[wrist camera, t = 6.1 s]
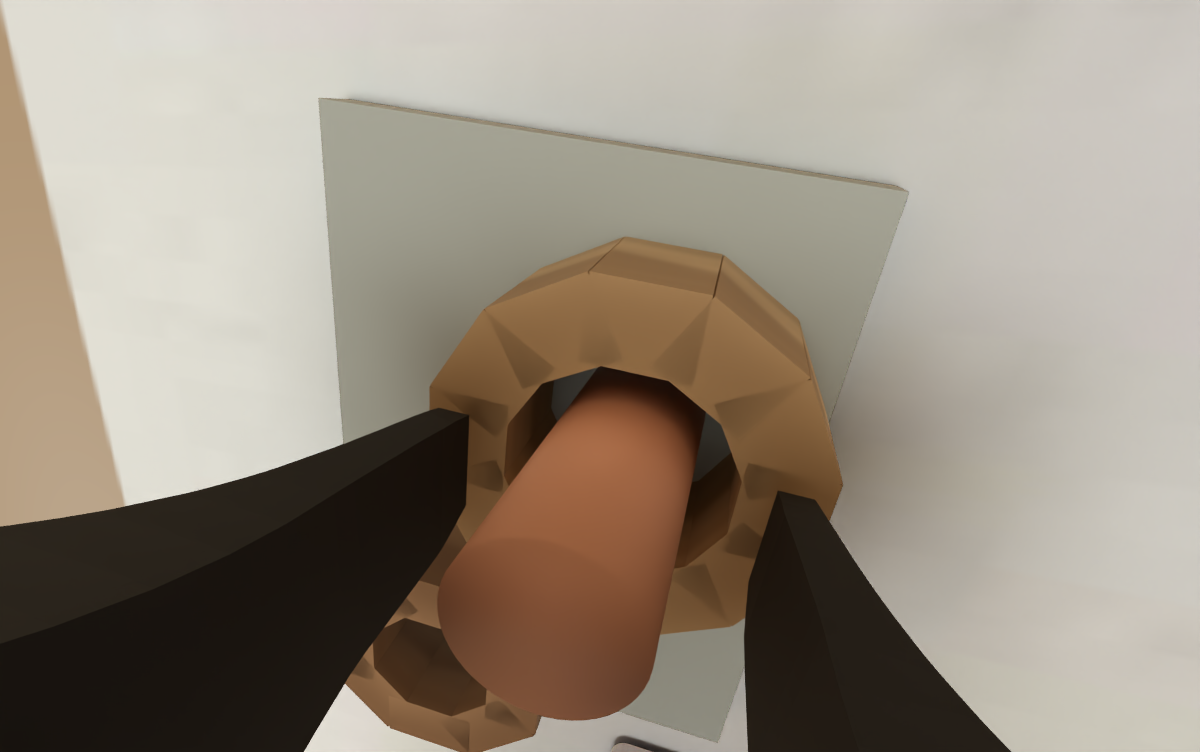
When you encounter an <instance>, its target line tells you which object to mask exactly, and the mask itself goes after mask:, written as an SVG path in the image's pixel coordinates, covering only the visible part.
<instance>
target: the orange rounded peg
mask: <svg viewBox="0 0 1200 752" xmlns="http://www.w3.org/2000/svg"><path fill="white" fill-rule="evenodd" d="M705 415H706V412H705V411H704V410H703V409H702V408H701V407H699V406H698V405H697V404H696V403H695V402H693V401H692V400H691V399H690V398H689V397H687V396H686V395H685V394H684V393H683V392H681V391H680V390H679V389H678V388H677V387H675V386H674V385H673V384H672V383H671V382H669V381H667V380H662V379H657V378H653V377H648V376H644V375H639V374H635V373H630V372H626V371H621V370H617V369H612V368H608V367H603V366H600V367H598V368H597V369H596V371H595V372H594V373H593V375H592V376H591V377H590V379H589V380H588V381H587V383H586V384H585V385H584V387H583V388H582V389H581V391H580V392H579V393H578V395H577V396H576V397H575V399H574V400H573V401H572V403H571V404H570V405H569V407H568V408H567V409H566V411H565V412H564V413H563V415H562V416H561V417H560V419H559V420H558V421H557V423H556V424H555V425H554V427H553V428H552V430H551V431H550V432H549V434H548V435H547V436H546V438H545V439H544V440H543V442H542V443H541V444H540V446H539V447H538V448H537V450H536V451H535V452H534V454H533V455H532V456H531V458H530V459H529V460H528V462H527V463H526V464H525V466H524V467H523V468H522V470H521V471H520V472H519V474H518V475H517V476H516V478H515V479H514V480H513V482H512V483H511V484H510V486H509V487H508V488H507V490H506V491H505V492H504V494H503V495H502V496H501V498H500V499H499V500H498V502H497V503H496V504H495V506H494V507H493V508H492V510H491V511H490V512H489V514H488V515H487V516H486V518H485V519H484V520H483V522H482V523H481V524H480V526H479V527H478V529H477V530H476V531H475V533H474V534H473V535H472V537H471V538H470V539H469V541H468V542H467V543H466V545H465V546H464V547H463V549H462V550H461V551H460V553H459V554H458V555H457V557H456V558H455V559H454V561H453V562H452V563H451V565H450V566H449V567H448V569H447V570H446V572H445V574H444V576H443V578H442V580H441V583H440V587H439V590H438V598H437V609H438V617H439V622H440V626H441V629H442V632H443V635H444V637H445V639H446V641H447V643H448V646H449V647H450V649H451V651H452V652H453V654H454V655H455V657H456V658H457V660H458V661H459V662H460V664H461V665H462V666H463V667H464V669H465V670H466V671H467V672H468V673H469V674H470V675H471V676H472V677H473V678H474V679H475V680H476V681H478V682H479V683H480V684H481V685H482V686H483V687H485V688H486V689H487V690H489V691H490V692H491V693H493V694H494V695H496V696H497V697H499V698H501V699H502V700H504V701H506V702H508V703H510V704H512V705H514V706H516V707H518V708H520V709H523V710H525V711H528V712H530V713H533V714H537V715H540V716H544V717H548V718H554V719H560V720H590V719H597V718H601V717H605V716H608V715H611V714H613V713H615V712H618V711H620V710H622V709H623V708H625V707H626V706H628V705H630V704H631V703H632V702H633V701H634V700H635V699H636V698H638V696H639V695H640V694H641V693H642V691H643V690H644V689H645V687H646V685H647V683H648V682H649V680H650V677H651V674H652V671H653V667H654V662H655V657H656V652H657V648H658V643H659V638H660V633H661V628H662V624H663V619H664V614H665V609H666V604H667V599H668V595H669V590H670V585H671V580H672V575H673V571H674V566H675V561H676V556H677V551H678V546H679V542H680V537H681V532H682V527H683V522H684V518H685V513H686V508H687V503H688V498H689V493H690V489H691V484H692V479H693V474H694V469H695V465H696V460H697V455H698V450H699V445H700V440H701V436H702V431H703V426H704V421H705Z"/></svg>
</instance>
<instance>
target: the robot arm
mask: <svg viewBox="0 0 1200 752" xmlns="http://www.w3.org/2000/svg"><path fill="white" fill-rule="evenodd" d="M468 440H469V415H467V414H463V413H459V412H455V411H451V410H447V409H443V408H436V409H432V410H429V411H426V412H423V413H421V414H418V415H415V416H413V417H410V418H408V419H405V420H403V421H400V422H398V423H395V424H393V425H390V426H388V427H385V428H383V429H380V430H378V431H375V432H373V433H370V434H368V435H365V436H363V437H360V438H357V439H355V440H352V441H350V442H347V443H345V444H342V445H340V446H337V447H335V448H332V449H329V450H326V451H323V452H320V453H318V454H315V455H312V456H309V457H306V458H303V459H301V460H298V461H295V462H292V463H289V464H287V465H284V466H281V467H278V468H275V469H272V470H269V471H266V472H263V473H259V474H256V475H253V476H249V477H246V478H243V479H239V480H235V481H232V482H228V483H224V484H221V485H217V486H213V487H210V488H206V489H202V490H198V491H194V492H190V493H186V494H181V495H176V496H172V497H167V498H162V499H158V500H153V501H148V502H144V503H139V504H134V505H130V506H125V507H121V508H116V509H111V510H105V511H100V512H94V513H88V514H82V515H76V516H70V517H65V518H58V519H51V520H44V521H38V522H30V523H23V524H17V525H10V526H3V527H0V752H304V751H305V749H306V747H307V745H308V744H309V742H310V740H311V738H312V737H313V735H314V733H315V732H316V730H317V728H318V727H319V725H320V723H321V722H322V720H323V718H324V717H325V715H326V714H327V712H328V710H329V709H330V707H331V705H332V704H333V702H334V700H335V699H336V697H337V695H338V694H339V692H340V690H341V689H342V687H343V685H344V684H345V682H346V681H347V679H348V677H349V676H350V674H351V673H352V671H353V670H354V669H355V667H356V666H357V664H358V663H359V661H360V660H361V658H362V657H363V655H364V654H365V653H366V651H367V650H368V648H369V647H370V646H371V644H372V643H373V642H374V640H375V639H376V638H377V636H378V635H379V634H380V632H381V631H382V630H383V628H384V627H385V626H386V624H387V623H388V622H389V620H390V619H391V618H392V616H393V615H394V614H395V612H396V611H397V610H398V608H399V607H400V606H401V604H402V603H403V602H404V600H405V599H406V598H407V596H408V595H409V594H410V592H411V591H412V590H413V588H414V587H415V586H416V584H417V583H418V582H419V580H420V579H421V577H422V576H423V575H424V573H425V572H426V571H427V569H428V568H429V567H430V565H431V564H432V562H433V561H434V560H435V558H436V557H437V555H438V554H439V553H440V551H441V550H442V548H443V546H444V544H445V543H446V541H447V539H448V537H449V536H450V534H451V532H452V530H453V529H454V527H455V525H456V523H457V521H458V519H459V517H460V516H461V514H462V512H463V510H464V508H465V506H466V493H467V467H468ZM744 660H745V687H746V712H747V736H748V752H1011V751H1010V750H1009V749H1008V748H1007V747H1006V746H1005V745H1004V744H1003V743H1002V742H1001V741H1000V740H999V739H998V738H997V737H996V735H995V734H994V733H993V732H992V731H991V730H990V729H989V728H988V727H987V726H986V725H985V724H984V723H983V722H982V721H981V720H980V719H979V717H978V716H977V715H976V714H975V713H974V712H973V711H972V710H971V708H970V707H969V706H968V705H967V704H966V703H965V702H964V701H963V700H962V698H961V697H960V696H959V695H958V694H957V693H956V692H955V691H954V689H953V688H952V687H951V686H950V685H949V684H948V683H947V682H946V681H945V679H944V678H943V677H942V676H941V675H940V674H939V672H938V671H937V670H936V669H935V668H934V667H933V665H932V664H931V663H930V662H929V661H928V659H927V658H926V657H925V656H924V655H923V653H922V652H921V651H920V650H919V648H918V647H917V646H916V644H915V643H914V642H913V641H912V639H911V638H910V637H909V635H908V634H907V633H906V632H905V630H904V629H903V628H902V626H901V625H900V624H899V623H898V621H897V620H896V619H895V617H894V616H893V615H892V613H891V612H890V611H889V609H888V608H887V607H886V605H885V604H884V603H883V601H882V600H881V598H880V597H879V596H878V594H877V593H876V591H875V590H874V589H873V587H872V586H871V584H870V583H869V581H868V580H867V579H866V577H865V576H864V574H863V573H862V571H861V570H860V568H859V567H858V565H857V564H856V562H855V561H854V559H853V558H852V556H851V555H850V553H849V552H848V550H847V548H846V547H845V545H844V544H843V542H842V541H841V539H840V538H839V536H838V534H837V533H836V531H835V530H834V528H833V527H832V525H831V523H830V522H829V520H828V519H827V517H826V515H825V514H824V512H823V511H822V509H821V508H820V506H819V505H818V503H817V501H816V500H815V499H811V498H807V497H803V496H799V495H794V494H790V493H786V492H782V491H777V495H776V498H775V501H774V504H773V507H772V510H771V513H770V516H769V519H768V522H767V526H766V529H765V532H764V535H763V538H762V541H761V544H760V547H759V550H758V553H757V557H756V560H755V563H754V566H753V569H752V572H751V575H750V578H749V581H748V592H747V603H746V614H745V628H744ZM611 752H652V751H649V750H646V749H643V748H640V747H637V746H634V745H630V744H627V743H618V744H616V745H614V746H613V748H612V751H611Z"/></svg>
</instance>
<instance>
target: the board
mask: <svg viewBox="0 0 1200 752" xmlns="http://www.w3.org/2000/svg"><path fill="white" fill-rule="evenodd" d="M318 99H319V113H320V127H321V141H322V155H323V169H324V182H325V196H326V210H327V224H328V238H329V252H330V265H331V279H332V293H333V307H334V321H335V335H336V348H337V362H338V376H339V390H340V404H341V418H342V432H343V444H345V443H347V442H350V441H352V440H355V439H357V438H360V437H363V436H365V435H368V434H370V433H373V432H375V431H378V430H380V429H383V428H385V427H388V426H390V425H393V424H395V423H398V422H400V421H403V420H405V419H408V418H410V417H413V416H415V415H418V414H421V413H423V412H426V411H429V387H430V385H431V383H432V382H433V380H434V379H435V377H436V376H437V375H438V373H439V372H440V370H441V369H442V367H443V366H444V365H445V363H446V362H447V360H448V359H449V357H450V356H451V355H452V353H453V352H454V350H455V349H456V347H457V346H458V345H459V343H460V342H461V340H462V339H463V338H464V336H465V335H466V333H467V332H468V330H469V329H470V328H471V326H472V325H473V323H474V322H475V320H476V319H477V318H478V316H479V315H480V313H481V312H482V310H483V309H485V308H486V307H487V306H489V305H490V304H491V303H493V302H494V301H496V300H497V299H498V298H500V297H501V296H503V295H504V294H505V293H507V292H508V291H510V290H511V289H512V288H514V287H515V286H516V285H518V284H519V283H521V282H522V281H523V280H525V279H526V278H528V277H529V276H530V275H532V274H533V273H534V272H536V271H537V270H539V269H540V268H542V267H545V266H547V265H550V264H553V263H555V262H558V261H561V260H563V259H566V258H569V257H571V256H574V255H577V254H579V253H582V252H585V251H587V250H590V249H593V248H595V247H598V246H601V245H603V244H606V243H609V242H611V241H614V240H617V239H619V238H622V237H632V238H637V239H643V240H648V241H654V242H659V243H664V244H670V245H675V246H681V247H686V248H692V249H697V250H702V251H708V252H713V253H719V254H723V255H722V257H723V256H724V255H725V256H726V257H727V258H728V259H730V260H731V261H732V262H733V263H734V264H735V265H736V266H738V267H739V268H740V269H741V270H742V271H743V272H745V273H746V274H747V275H748V276H749V277H750V278H752V279H753V280H754V281H755V282H756V283H757V284H758V285H760V286H761V287H762V288H763V289H764V290H765V291H767V292H768V293H769V294H770V295H771V296H772V297H774V298H775V299H776V300H777V301H778V302H779V303H780V304H782V305H783V306H784V307H785V308H786V309H787V310H789V311H790V312H791V313H792V314H793V315H794V316H796V317H797V318H798V320H799V321H800V325H801V328H802V332H803V335H804V338H805V342H806V345H807V348H808V352H809V355H810V359H811V362H812V365H813V369H814V372H815V375H816V379H817V382H818V385H819V389H820V392H821V396H822V399H823V402H824V406H825V410H826V414H827V419H828V423H829V421H830V419H831V416H832V413H833V410H834V407H835V404H836V401H837V398H838V396H839V393H840V390H841V387H842V384H843V381H844V378H845V375H846V373H847V370H848V367H849V364H850V361H851V358H852V355H853V352H854V350H855V347H856V344H857V341H858V338H859V335H860V332H861V329H862V327H863V324H864V321H865V318H866V315H867V312H868V309H869V307H870V304H871V301H872V298H873V295H874V292H875V289H876V286H877V284H878V281H879V278H880V275H881V272H882V269H883V266H884V263H885V261H886V258H887V255H888V252H889V249H890V246H891V243H892V240H893V238H894V235H895V232H896V229H897V226H898V223H899V220H900V217H901V215H902V212H903V209H904V206H905V203H906V200H907V197H908V194H909V192H908V191H906V190H904V189H902V188H900V187H898V186H894V185H888V184H881V183H875V182H869V181H862V180H856V179H850V178H843V177H837V176H831V175H824V174H818V173H812V172H805V171H799V170H793V169H786V168H780V167H774V166H768V165H761V164H755V163H749V162H742V161H736V160H730V159H723V158H717V157H711V156H704V155H698V154H692V153H685V152H679V151H673V150H666V149H660V148H654V147H647V146H641V145H635V144H628V143H622V142H616V141H609V140H603V139H597V138H590V137H584V136H578V135H571V134H565V133H559V132H553V131H546V130H540V129H534V128H527V127H521V126H515V125H508V124H502V123H496V122H489V121H483V120H477V119H470V118H464V117H458V116H451V115H445V114H439V113H432V112H426V111H420V110H413V109H407V108H401V107H394V106H388V105H382V104H375V103H369V102H363V101H357V100H350V99H331V98H318ZM597 368H598V367H596V368H593V369H590V370H586V371H583V372H579V373H576V374H573V375H569V376H566V377H562V378H559V379H556V380H554V385H553V395H552V404H551V409H552V411H553V413H554V416H555V418H556V420H557V421H558V420H559V419H560V417H561V416H562V415H563V413H564V412H565V411H566V409H567V408H568V407H569V405H570V404H571V403H572V401H573V400H574V399H575V397H576V396H577V395H578V393H579V392H580V391H581V389H582V388H583V387H584V385H585V384H586V383H587V381H588V380H589V379H590V377H591V376H592V375H593V373H594V372H595V371H596V369H597ZM730 453H731V450H730V447H729V444H728V442H727V439H726V436H725V433H724V431H723V428H722V425H721V424H720V423H719V422H717V421H716V420H715V419H714V418H713V417H711V416H710V415H709V414H708V413H707V412H706V415H705V421H704V426H703V431H702V436H701V440H700V445H699V450H698V455H697V460H696V465H695V469H694V474H693V479H692V482H696V481H699V480H700V479H701V478H702V477H704V476H705V475H706V474H707V473H708V472H709V471H710V470H712V469H713V468H714V467H715V466H716V465H717V464H718V463H720V462H721V461H722V460H723V459H724V458H725V457H727V456H728V455H729V454H730ZM744 628H745V618H744V619H743V620H741V621H740V622H738V623H737V624H735V625H734V626H731V627H726V628H717V629H707V630H698V631H689V632H680V633H671V634H662V635H660V638H659V643H658V648H657V652H656V657H655V662H654V667H653V671H652V674H651V677H650V680H649V682H648V683H647V685H646V687H645V689H644V690H643V691H642V693H641V694H640V695H639V696H638V698H636V699H635V700H634V701H633V702H632V703H631V704H630V705H628V706H626V707H625V708H623V709H622V710H620V711H618V712H621V713H625V714H628V715H631V716H634V717H637V718H640V719H644V720H647V721H650V722H653V723H656V724H659V725H662V726H666V727H669V728H672V729H675V730H678V731H681V732H685V733H688V734H691V735H694V736H697V737H700V738H704V739H707V740H710V741H713V742H716V743H718V740H719V737H720V735H721V732H722V729H723V726H724V723H725V720H726V717H727V714H728V712H729V709H730V706H731V703H732V700H733V697H734V694H735V691H736V689H737V686H738V683H739V680H740V677H741V674H742V671H743V668H744V666H745V660H744Z"/></svg>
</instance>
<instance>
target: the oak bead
mask: <svg viewBox="0 0 1200 752" xmlns="http://www.w3.org/2000/svg"><path fill="white" fill-rule="evenodd" d="M722 255H723V254H719V253H713V252H708V251H702V250H697V249H692V248H686V247H681V246H675V245H670V244H664V243H659V242H654V241H648V240H643V239H637V238H632V237H622V238H619V239H617V240H614V241H611V242H609V243H606V244H603V245H601V246H598V247H595V248H593V249H590V250H587V251H585V252H582V253H579V254H577V255H574V256H571V257H569V258H566V259H563V260H561V261H558V262H555V263H553V264H550V265H547V266H545V267H542V268H540V269H539V270H537V271H536V272H534V273H533V274H532V275H530V276H529V277H528V278H526V279H525V280H523V281H522V282H521V283H519V284H518V285H516V286H515V287H514V288H512V289H511V290H510V291H508V292H507V293H505V294H504V295H503V296H501V297H500V298H498V299H497V300H496V301H494V302H493V303H491V304H490V305H489V306H487V307H486V308H485V309H483V310H482V312H481V313H480V315H479V316H478V318H477V319H476V320H475V322H474V323H473V325H472V326H471V328H470V329H469V330H468V332H467V333H466V335H465V336H464V338H463V339H462V340H461V342H460V343H459V345H458V346H457V347H456V349H455V350H454V352H453V353H452V355H451V356H450V357H449V359H448V360H447V362H446V363H445V365H444V366H443V367H442V369H441V370H440V372H439V373H438V375H437V376H436V377H435V379H434V380H433V382H432V383H431V385H430V387H429V410H432V409H436V408H443V409H447V410H451V411H455V412H459V413H463V414H467V415H469V440H468V467H467V493H466V506H465V508H464V510H463V512H462V514H461V516H460V517H459V519H458V521H457V523H456V524H457V526H458V528H459V529H460V531H461V533H462V535H463V537H464V539H465V540H466V542H468V541H469V539H470V538H471V537H472V535H473V534H474V533H475V531H476V530H477V529H478V527H479V526H480V524H481V523H482V522H483V520H484V519H485V518H486V516H487V515H488V514H489V512H490V511H491V510H492V508H493V507H494V506H495V504H496V503H497V502H498V500H499V499H500V498H501V496H502V495H503V494H504V492H505V491H506V490H507V488H508V487H509V486H510V484H511V483H512V482H513V480H514V479H515V478H516V476H517V475H518V474H519V472H520V471H521V470H522V468H523V467H524V466H525V464H526V463H527V462H528V460H529V459H530V458H531V456H532V455H533V454H534V452H535V451H536V450H537V448H538V447H539V446H540V444H541V443H542V442H543V440H544V439H545V438H546V436H547V435H548V434H549V432H550V431H551V430H552V428H553V427H554V425H555V424H556V423H557V420H556V418H555V416H554V413H553V411H552V409H551V404H552V395H553V385H554V380H556V379H559V378H562V377H566V376H569V375H573V374H576V373H579V372H583V371H586V370H590V369H593V368H596V367H600V366H603V367H608V368H612V369H617V370H621V371H626V372H630V373H635V374H639V375H644V376H648V377H653V378H657V379H662V380H667V381H669V382H671V383H672V384H673V385H674V386H675V387H677V388H678V389H679V390H680V391H681V392H683V393H684V394H685V395H686V396H687V397H689V398H690V399H691V400H692V401H693V402H695V403H696V404H697V405H698V406H699V407H701V408H702V409H703V410H704V411H705V412H707V413H708V414H709V415H710V416H711V417H713V418H714V419H715V420H716V421H717V422H719V423H720V424H721V425H722V428H723V431H724V433H725V436H726V439H727V442H728V444H729V447H730V450H731V453H730V454H729V455H728V456H727V457H725V458H724V459H723V460H722V461H721V462H720V463H718V464H717V465H716V466H715V467H714V468H713V469H712V470H710V471H709V472H708V473H707V474H706V475H705V476H704V477H702V478H701V479H700V480H699V481H696V482H692V484H691V489H690V493H689V498H688V503H687V508H686V513H685V518H684V522H683V527H682V532H681V537H680V542H679V546H678V551H677V556H676V561H675V566H674V571H673V575H672V580H671V585H670V590H669V595H668V599H667V604H666V609H665V614H664V619H663V624H662V628H661V633H660V635H662V634H671V633H680V632H689V631H698V630H707V629H717V628H726V627H731V626H734V625H735V624H737V623H738V622H740V621H741V620H743V619H744V618H745V614H746V603H747V592H748V581H749V578H750V575H751V572H752V569H753V566H754V563H755V560H756V557H757V553H758V550H759V547H760V544H761V541H762V538H763V535H764V532H765V529H766V526H767V522H768V519H769V516H770V513H771V510H772V507H773V504H774V501H775V498H776V495H777V491H782V492H786V493H790V494H794V495H799V496H803V497H807V498H811V499H815V500H816V501H817V503H818V505H819V506H820V508H821V509H822V511H823V512H824V514H825V515H826V517H827V519H828V520H829V521H830V518H831V515H832V513H833V510H834V508H835V505H836V502H837V500H838V497H839V494H840V492H841V489H842V487H843V482H842V478H841V474H840V469H839V465H838V461H837V457H836V452H835V448H834V444H833V440H832V436H831V431H830V427H829V423H828V419H827V414H826V410H825V406H824V402H823V399H822V396H821V392H820V389H819V385H818V382H817V379H816V375H815V372H814V369H813V365H812V362H811V359H810V355H809V352H808V348H807V345H806V342H805V338H804V335H803V332H802V328H801V325H800V321H799V320H798V318H797V317H796V316H794V315H793V314H792V313H791V312H790V311H789V310H787V309H786V308H785V307H784V306H783V305H782V304H780V303H779V302H778V301H777V300H776V299H775V298H774V297H772V296H771V295H770V294H769V293H768V292H767V291H765V290H764V289H763V288H762V287H761V286H760V285H758V284H757V283H756V282H755V281H754V280H753V279H752V278H750V277H749V276H748V275H747V274H746V273H745V272H743V271H742V270H741V269H740V268H739V267H738V266H736V265H735V264H734V263H733V262H732V261H731V260H730V259H728V258H727V257H726V256H725V255H724V256H723V257H722Z"/></svg>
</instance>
